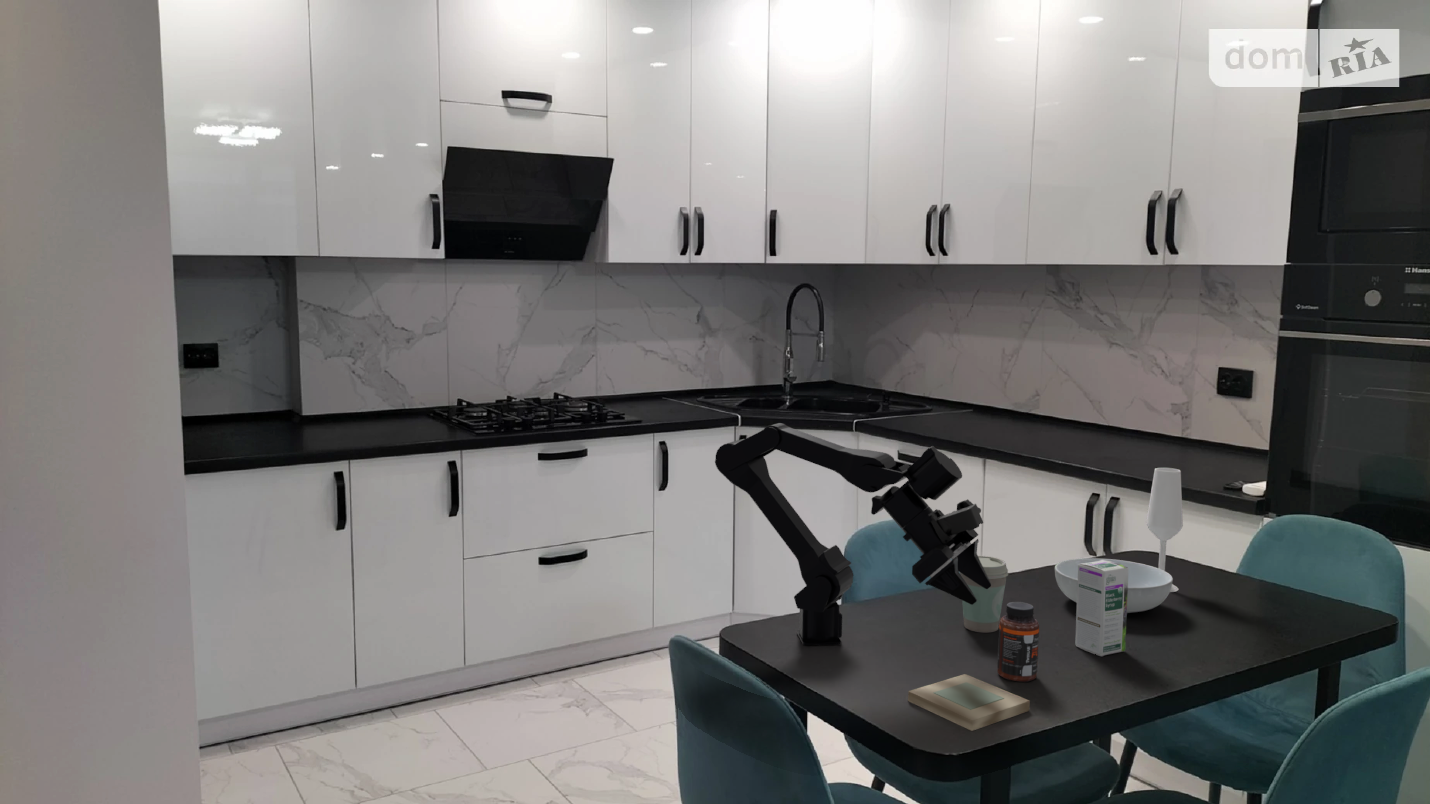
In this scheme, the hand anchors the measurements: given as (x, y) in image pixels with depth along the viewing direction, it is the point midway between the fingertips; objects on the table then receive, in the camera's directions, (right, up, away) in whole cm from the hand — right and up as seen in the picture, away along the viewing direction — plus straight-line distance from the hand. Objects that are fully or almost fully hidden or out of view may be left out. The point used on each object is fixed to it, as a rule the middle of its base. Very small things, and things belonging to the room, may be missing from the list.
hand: (982, 594), depth 161 cm
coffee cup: (+5, -10, +21) cm, 24 cm away
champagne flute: (+48, -7, +46) cm, 67 cm away
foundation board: (-5, -14, -13) cm, 19 cm away
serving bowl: (+33, -9, +34) cm, 48 cm away
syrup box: (+22, -11, +11) cm, 27 cm away
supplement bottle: (+5, -13, -1) cm, 14 cm away
